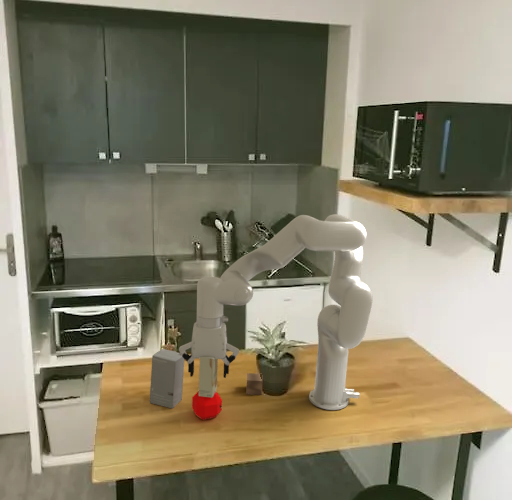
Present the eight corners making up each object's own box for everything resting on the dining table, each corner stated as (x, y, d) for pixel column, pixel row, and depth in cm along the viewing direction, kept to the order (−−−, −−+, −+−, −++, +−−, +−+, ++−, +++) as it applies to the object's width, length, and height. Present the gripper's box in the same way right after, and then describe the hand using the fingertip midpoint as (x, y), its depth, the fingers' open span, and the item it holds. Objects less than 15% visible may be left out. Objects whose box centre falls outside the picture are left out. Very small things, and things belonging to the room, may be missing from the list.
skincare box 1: (149, 403, 161) (149, 356, 157) (160, 393, 168) (161, 347, 164) (173, 409, 158) (174, 361, 155) (184, 398, 165) (185, 352, 161)
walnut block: (261, 387, 174) (262, 373, 173) (261, 395, 170) (262, 381, 168) (246, 386, 174) (247, 373, 173) (246, 394, 170) (246, 380, 168)
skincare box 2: (212, 398, 151) (214, 359, 148) (198, 396, 152) (199, 357, 149) (217, 387, 157) (218, 350, 154) (203, 386, 158) (204, 348, 155)
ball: (223, 420, 154) (224, 396, 152) (197, 424, 151) (198, 401, 149) (215, 406, 161) (216, 383, 160) (190, 410, 158) (190, 387, 157)
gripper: (240, 316, 153) (238, 370, 157) (181, 314, 153) (180, 368, 157) (239, 326, 146) (237, 382, 150) (177, 324, 145) (177, 380, 150)
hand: (208, 375), depth 153 cm, fingers open, 9 cm apart
